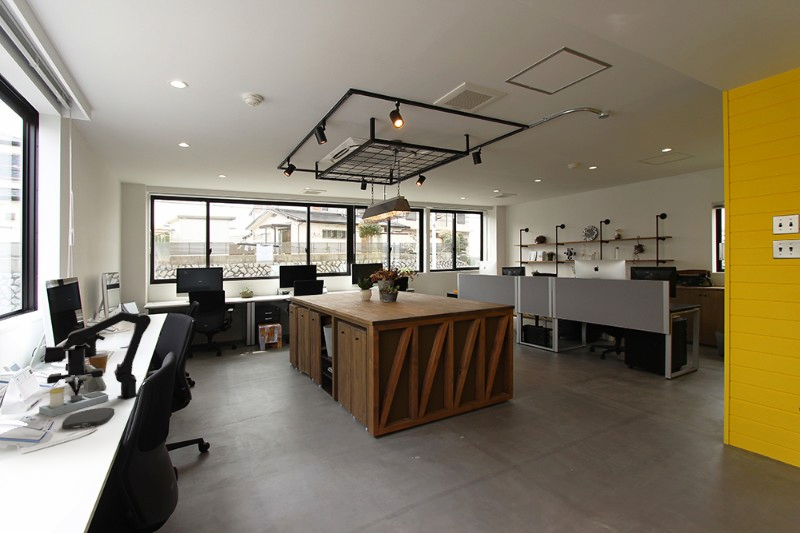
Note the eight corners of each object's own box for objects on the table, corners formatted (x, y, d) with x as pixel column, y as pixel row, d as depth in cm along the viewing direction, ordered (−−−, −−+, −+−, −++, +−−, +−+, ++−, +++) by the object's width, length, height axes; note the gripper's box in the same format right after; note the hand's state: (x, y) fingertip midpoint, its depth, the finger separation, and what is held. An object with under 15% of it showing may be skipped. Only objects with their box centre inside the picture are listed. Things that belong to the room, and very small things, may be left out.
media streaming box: (117, 412, 163) (117, 405, 163) (104, 426, 150) (104, 418, 150) (74, 417, 158) (74, 409, 158) (58, 432, 144) (58, 424, 144)
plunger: (84, 401, 170) (84, 394, 170) (73, 404, 166) (73, 397, 166) (79, 399, 172) (79, 392, 172) (68, 402, 168) (68, 395, 168)
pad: (106, 394, 177) (106, 393, 177) (91, 398, 171) (91, 397, 171) (98, 391, 180) (98, 391, 180) (82, 396, 174) (82, 395, 174)
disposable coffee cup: (90, 372, 219) (90, 351, 219) (110, 370, 223) (110, 349, 223) (85, 376, 211) (85, 355, 210) (106, 374, 215) (106, 353, 214)
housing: (108, 400, 176) (108, 394, 176) (51, 417, 157) (51, 410, 157) (96, 396, 180) (96, 391, 180) (39, 412, 161) (39, 406, 161)
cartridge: (66, 410, 164) (66, 388, 164) (53, 414, 160) (52, 391, 160) (60, 408, 166) (60, 386, 166) (47, 412, 162) (47, 390, 162)
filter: (70, 385, 196) (70, 327, 195) (75, 380, 204) (75, 324, 203) (103, 382, 202) (103, 325, 201) (107, 377, 210) (107, 322, 209)
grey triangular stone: (106, 390, 189) (106, 369, 189) (83, 394, 184) (82, 372, 184) (106, 382, 202) (105, 362, 202) (83, 385, 197) (83, 364, 196)
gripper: (104, 353, 181) (104, 385, 181) (51, 358, 170) (51, 393, 171) (102, 358, 172) (102, 392, 172) (46, 364, 161) (46, 401, 161)
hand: (76, 394), depth 169 cm, fingers closed, pressing on plunger
